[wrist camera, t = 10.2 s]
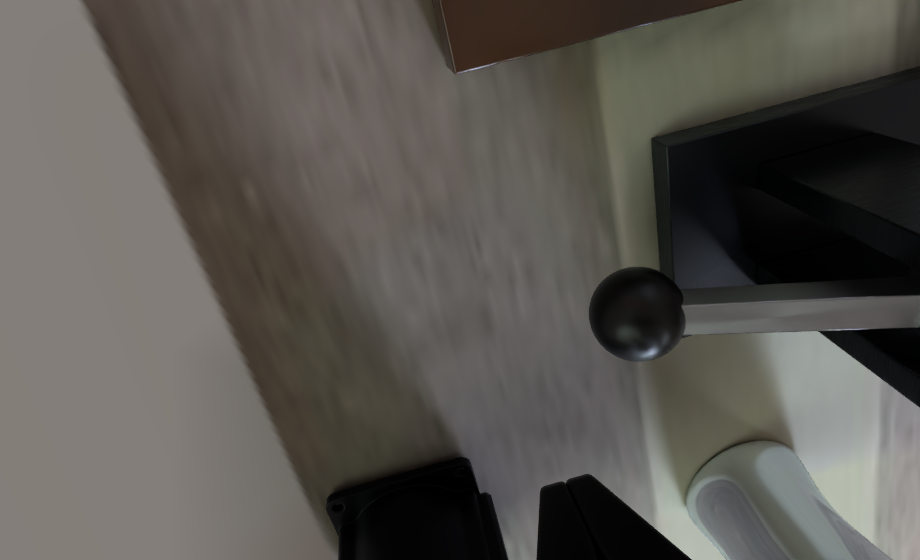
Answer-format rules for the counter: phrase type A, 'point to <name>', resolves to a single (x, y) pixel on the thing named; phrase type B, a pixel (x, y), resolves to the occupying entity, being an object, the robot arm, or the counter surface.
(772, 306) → the lever with ball knob
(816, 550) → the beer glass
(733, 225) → the black lever housing
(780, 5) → the counter surface
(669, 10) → the control block
